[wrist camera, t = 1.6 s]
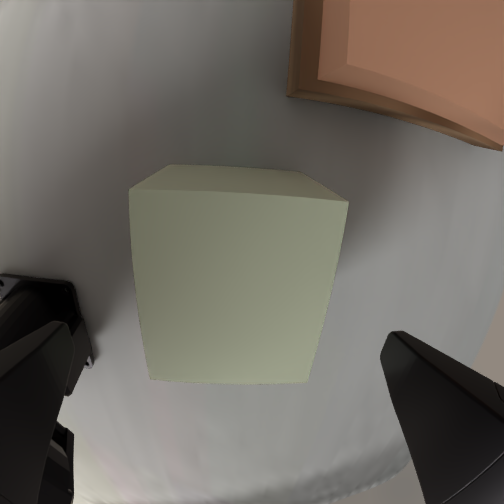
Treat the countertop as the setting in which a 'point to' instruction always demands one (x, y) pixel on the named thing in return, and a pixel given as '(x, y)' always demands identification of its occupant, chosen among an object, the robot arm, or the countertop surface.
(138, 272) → the sage green brick
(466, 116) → the terracotta top brick
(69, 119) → the countertop surface
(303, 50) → the walnut base brick
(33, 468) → the robot arm
